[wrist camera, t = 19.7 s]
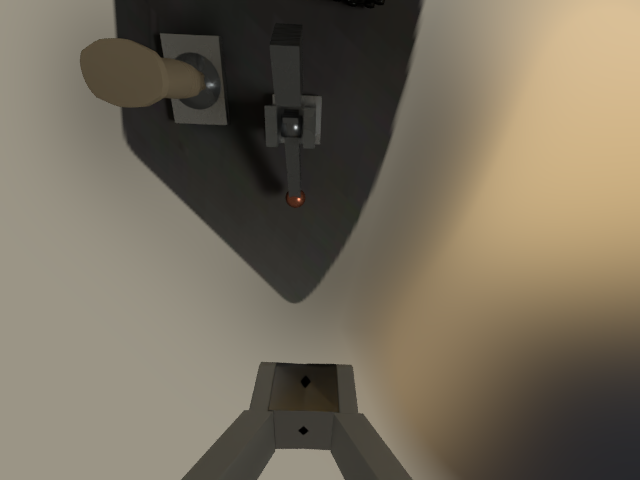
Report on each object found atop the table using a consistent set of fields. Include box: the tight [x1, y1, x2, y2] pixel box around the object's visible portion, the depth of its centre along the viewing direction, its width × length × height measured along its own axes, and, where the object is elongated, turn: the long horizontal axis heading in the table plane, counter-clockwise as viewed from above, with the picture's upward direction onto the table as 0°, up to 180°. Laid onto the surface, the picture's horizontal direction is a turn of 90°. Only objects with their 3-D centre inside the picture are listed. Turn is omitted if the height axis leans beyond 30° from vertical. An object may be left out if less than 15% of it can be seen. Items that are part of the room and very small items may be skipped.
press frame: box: [160, 33, 322, 149], centre depth 34 cm, size 12×20×11 cm, turn 88°
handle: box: [80, 38, 206, 107], centre depth 30 cm, size 5×6×15 cm
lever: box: [270, 23, 305, 208], centre depth 34 cm, size 22×3×4 cm, turn 179°
